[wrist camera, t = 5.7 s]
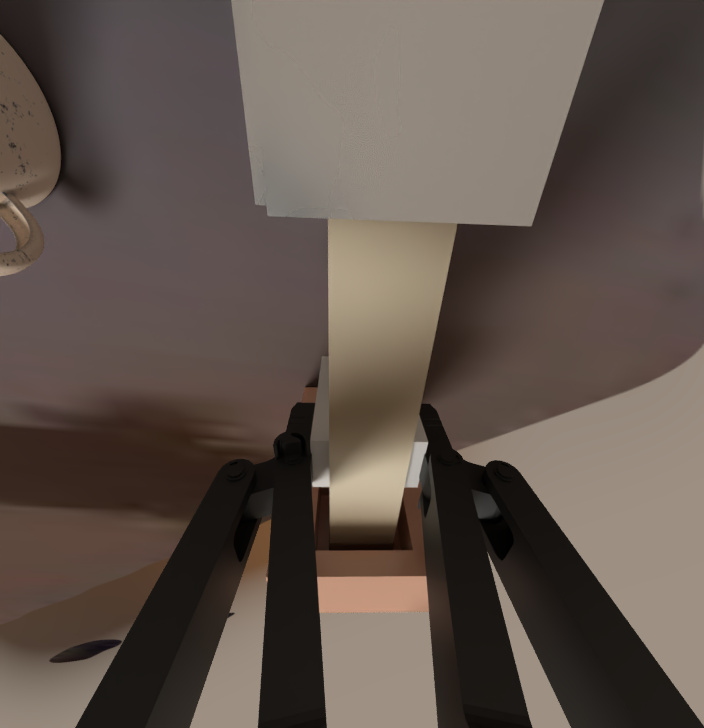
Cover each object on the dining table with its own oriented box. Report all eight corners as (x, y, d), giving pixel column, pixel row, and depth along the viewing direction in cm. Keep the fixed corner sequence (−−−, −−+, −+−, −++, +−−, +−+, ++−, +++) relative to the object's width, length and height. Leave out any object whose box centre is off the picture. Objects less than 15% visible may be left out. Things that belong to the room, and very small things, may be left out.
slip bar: (331, 22, 7) (322, -81, 4) (455, 30, 7) (520, -67, 5) (331, 499, 17) (328, 557, 14) (384, 499, 17) (391, 557, 14)
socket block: (304, 387, 23) (265, 577, 12) (404, 389, 23) (461, 575, 12) (306, 420, 25) (274, 613, 13) (399, 421, 25) (444, 611, 14)
